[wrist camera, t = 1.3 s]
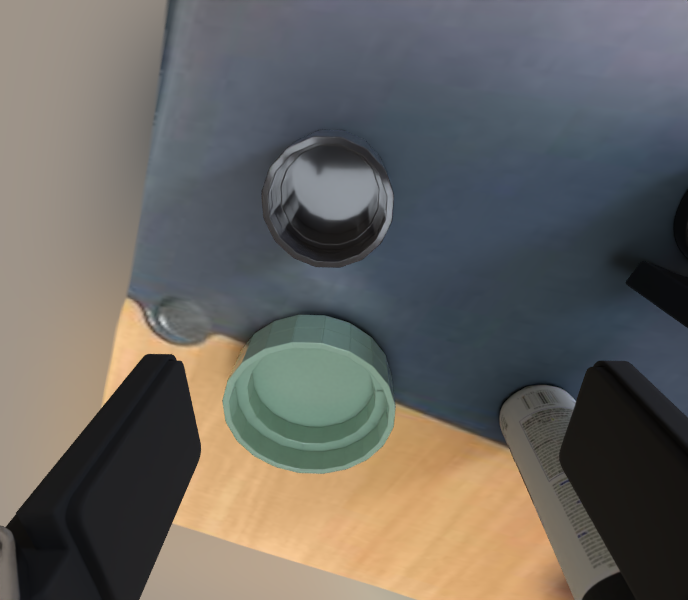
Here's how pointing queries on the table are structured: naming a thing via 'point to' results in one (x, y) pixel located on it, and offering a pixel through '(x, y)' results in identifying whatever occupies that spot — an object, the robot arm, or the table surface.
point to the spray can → (559, 491)
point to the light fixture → (666, 275)
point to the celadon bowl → (310, 395)
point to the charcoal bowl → (328, 199)
